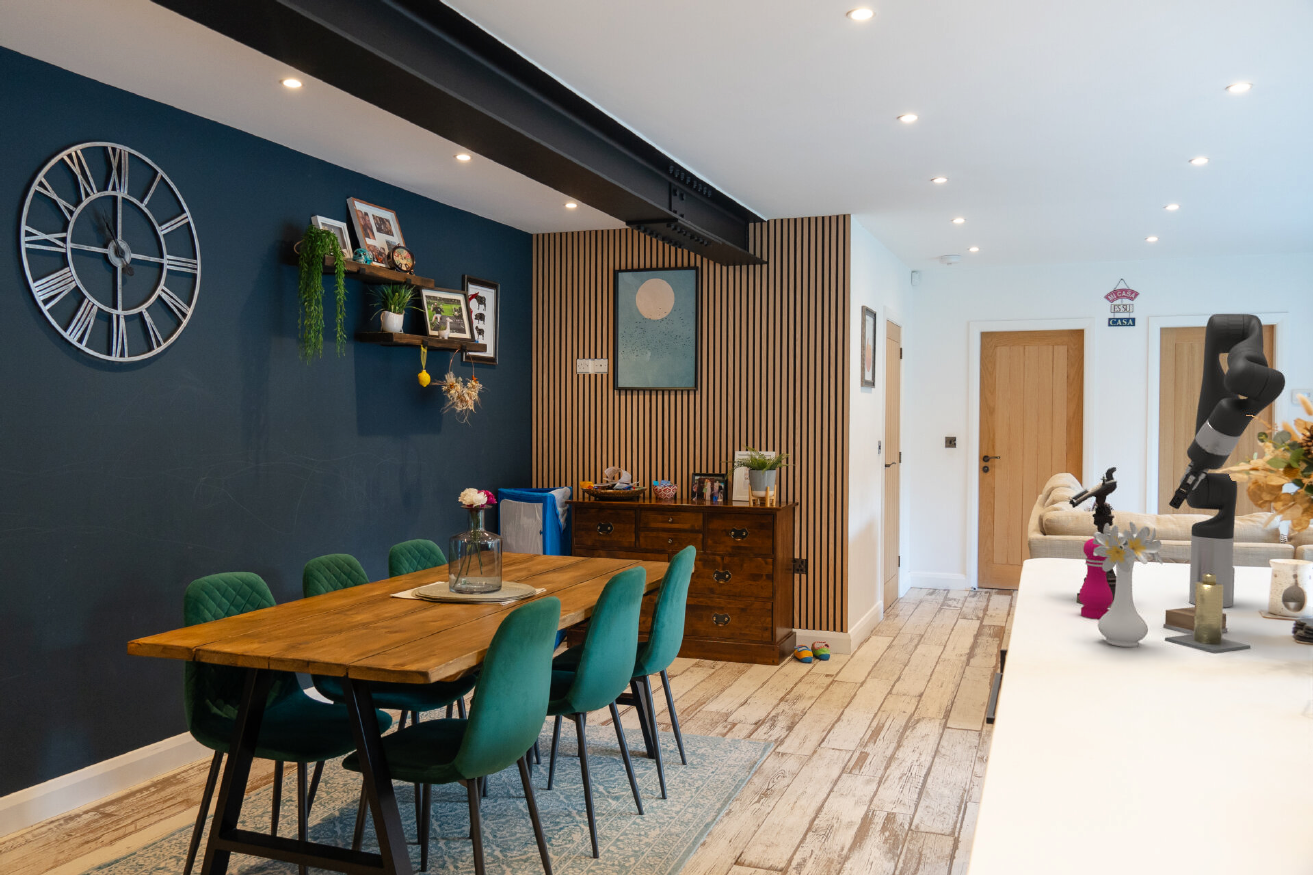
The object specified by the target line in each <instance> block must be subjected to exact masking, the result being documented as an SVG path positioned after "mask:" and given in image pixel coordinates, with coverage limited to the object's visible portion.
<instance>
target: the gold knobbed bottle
mask: <svg viewBox="0 0 1313 875" xmlns="http://www.w3.org/2000/svg"><path fill="white" fill-rule="evenodd" d="M1194 607H1195V616H1194V641H1196V642H1199V643H1204V644H1221V643H1222V639H1223V633H1222V613H1223V609H1224V607H1223V585H1222V584H1219V583H1216V575H1215V574H1203V582H1196V583H1195V604H1194Z"/></svg>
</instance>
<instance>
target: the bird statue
mask: <svg viewBox="0 0 1313 875" xmlns="http://www.w3.org/2000/svg"><path fill="white" fill-rule="evenodd" d="M1116 471H1117V467H1115V466H1113V467H1108V468H1107V470H1106V471H1105V473H1104V474H1102V478H1100V480H1101V482H1099V483H1098V484H1096V485H1094V486H1092V488H1085V489H1083V490H1081V491H1079V492H1078V493H1076V494H1075V495H1073V496H1068V497H1067V498H1068V499H1069V502H1068V504H1069V505H1071V506H1072V509H1074V508H1076V507H1078V506H1079V505H1080V504H1082V503H1084V502H1085V501H1087V500H1088V499H1090V498H1092V497H1094V498H1095V502H1096V504H1097V506H1096V507H1095V511H1094V513H1092V515H1091V516H1092V517H1093V525H1094V526H1096V529H1097V532H1100V533H1101V534H1104V532H1103V530H1104V526H1105V524H1106V523H1108V524H1109V526H1110V527H1113V526H1114V525H1113V524H1114V522H1113V520H1114V519H1115V515H1114V514H1112V509H1111V507H1110V506H1109V505H1107V504H1105V503H1106V501H1107V496H1109V495H1111V494H1112V493H1113V492H1115V491H1116V489H1117V487H1118V484H1117V483H1118V480H1116V479H1115V478H1114V476H1113V474H1114V473H1116ZM1086 577H1087V574H1086V575H1085V577H1084V578H1083V584H1084V582H1085V580H1086ZM1106 578H1107V582H1108V585H1109V587H1110V589H1111V592H1112V595H1113V601H1114V597H1115V589H1116V573H1115V571H1114V567H1113V568H1112V569H1111V570H1110V571H1106ZM1083 584H1082V585H1081V587H1082V586H1083ZM1080 590H1081V588H1080V589H1079V591H1080ZM1079 594H1080V592H1077V593H1076V603H1077V604H1080V605H1081V604H1082V602H1081V601H1080V599H1079ZM1112 604H1113V602H1112ZM1112 604H1111V605H1110V606H1109V607H1108V609H1110V608H1111V606H1112ZM1082 605H1083V604H1082Z"/></svg>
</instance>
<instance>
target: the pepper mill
mask: <svg viewBox="0 0 1313 875" xmlns="http://www.w3.org/2000/svg"><path fill="white" fill-rule="evenodd" d="M1097 534H1100V532H1098V531H1096V532H1094V533H1093V538H1089V539H1088V540H1086V541H1085V543H1084V544H1083V548H1082V550H1083V553H1084V555H1085V556H1086V558H1085V562H1084V563H1085V565H1086V567H1087V568H1086V570H1087V571H1086V575H1087V577H1086V576H1085V577H1086V580H1085V582H1084V581H1083V583H1084V584H1082V585H1083V586H1082V585H1081V588H1080V589H1081V590H1080V589H1079V593H1080V594H1079V599H1080V601H1081V602H1082V605H1083V606H1082V607H1080V615H1081V617H1083V618H1089V619H1095V620H1100V618H1101V617H1102V616H1103V615H1104V614H1105V613H1107V612H1108V611H1109V609H1110V608H1108V607H1109V606H1110V605H1111V604H1112V602H1113V595H1112V592H1111V589H1110V587H1109V585H1108V582H1107V578H1106V571H1104V570H1103V568H1102V565H1103V563H1104V561H1105V559H1106V558H1107V557H1102V556H1099V555H1098V556H1094V555H1093V553H1094V549H1095V548H1097V547H1098V546H1100V545H1097V544H1093V540H1094V539H1095V538H1096V535H1097Z"/></svg>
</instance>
